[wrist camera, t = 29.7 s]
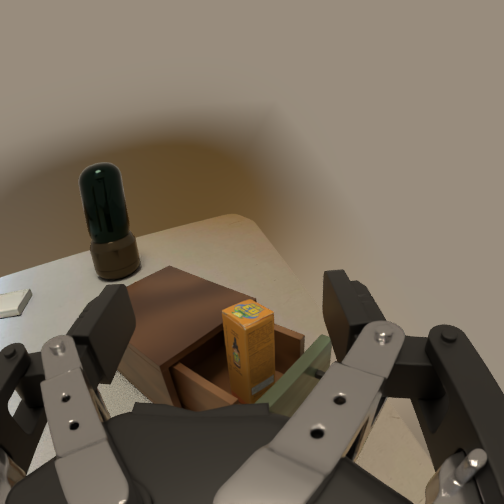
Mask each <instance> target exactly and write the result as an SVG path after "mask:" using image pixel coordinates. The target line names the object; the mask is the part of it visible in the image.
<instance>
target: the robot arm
mask: <svg viewBox="0 0 504 504" xmlns="http://www.w3.org/2000/svg"><path fill="white" fill-rule="evenodd" d="M323 317H324V321H325V324H326V327H327V330H328V334H329V337H330V340H331V343H332V346H333V349H334V352H335V355H336V359H337V361H335V362H333V363H332V364H331V366H330V367H329V368H328V370H327V371H326V373H325V374H324V375H323V377H322V378H321V379H320V381H319V382H318V383H317V385H316V386H315V387H314V389H313V390H312V391H311V393H310V394H309V395H308V397H307V398H306V399H305V401H304V402H303V403H302V404H301V406H300V407H299V408H298V409H297V411H296V412H295V413H294V414H293V416H292V417H288V416H285V415H281V414H277V413H271V412H269V403H254V404H233V405H229V406H224V407H220V408H215V409H210V410H205V411H199V412H197V411H191V410H187V409H183V408H179V407H175V406H171V405H167V404H154V403H138V402H135V404H134V407H133V410H132V412H128V413H123V414H120V415H117V416H115V417H112V418H111V417H110V414H109V412H108V410H107V408H106V406H105V403H104V401H103V399H102V396H101V394H100V392H99V390H98V388H97V387H98V384H99V383H100V384H111V382H112V380H113V378H114V375H115V373H116V371H117V368H118V366H119V364H120V362H121V359H122V357H123V355H124V353H125V350H126V348H127V346H128V344H129V342H130V339H131V337H132V335H133V333H134V331H135V328H136V318H135V314H134V310H133V307H132V304H131V300H130V297H129V294H128V290H127V288H126V286H125V285H124V284H114V285H106V287H105V288H104V289H103V291H102V292H101V293H100V295H99V296H98V297H96V298H95V299H93V300H92V301H91V302H89V303H88V304H87V306H86V307H85V308H84V310H83V312H82V313H81V314H80V315H79V318H77V320H76V321H75V322H74V324H73V325H72V327H71V328H70V330H69V331H68V332H67V334H66V335H60V336H56V337H53V338H52V339H50V340H48V341H47V342H46V343H45V344H44V345H43V347H42V349H41V352H36V353H30V354H28V352H27V350H26V348H25V347H24V345H23V344H21V343H14V344H11V345H8V346H7V347H5V348H4V349H2V350H1V352H0V504H413V503H412V502H411V501H410V500H408V499H407V498H405V497H404V496H402V495H401V494H399V493H398V492H396V491H395V490H393V489H392V488H390V487H389V486H387V485H386V484H384V483H383V482H381V481H380V480H378V479H377V478H375V477H374V476H373V475H371V474H370V473H368V472H367V471H366V470H364V469H363V468H361V467H360V466H359V465H357V464H356V463H355V461H356V460H357V458H358V456H359V454H360V452H361V450H362V448H363V446H364V444H365V442H366V440H367V438H368V436H369V434H370V432H371V430H372V428H373V426H374V424H375V422H376V420H377V418H378V416H379V414H380V412H381V410H382V408H383V406H384V404H385V402H386V400H387V398H388V397H393V398H410V399H411V402H412V404H413V407H414V410H415V413H416V415H417V418H418V421H419V424H420V427H421V429H422V432H423V435H424V438H425V441H426V444H427V447H428V450H429V453H430V456H431V460H432V463H433V466H434V469H435V472H436V473H435V474H434V475H433V476H432V478H431V479H430V480H429V482H428V484H427V486H426V489H425V497H426V501H425V504H504V394H503V392H502V391H501V389H500V387H499V386H498V384H497V382H496V381H495V379H494V378H493V376H492V374H491V372H490V371H489V369H488V368H487V366H486V365H485V363H484V362H483V360H482V358H481V357H480V355H479V354H478V352H477V351H476V349H475V348H474V346H473V345H472V343H471V342H470V341H469V339H468V338H467V336H466V335H465V333H464V332H463V331H462V330H460V329H459V328H457V327H454V326H451V325H438V326H435V327H433V328H432V329H431V330H430V332H429V335H428V337H411V336H406V335H405V333H404V331H403V329H402V328H401V327H400V326H398V325H396V324H394V323H392V322H389V321H386V319H385V317H384V316H383V314H382V312H381V311H380V309H379V307H378V305H377V304H376V302H375V301H374V299H373V297H372V296H371V294H370V292H369V291H368V289H367V287H366V286H365V285H363V284H361V283H360V282H359V281H350V280H349V278H348V277H347V275H346V273H345V271H344V270H331V271H325V272H324V280H323ZM14 390H16V391H17V393H18V394H19V396H20V397H21V399H22V400H21V402H20V404H19V406H18V408H17V410H16V412H15V414H14V416H13V417H12V416H11V415H10V413H9V411H8V401H9V399H10V397H11V396H12V394H13V392H14ZM47 421H48V425H49V429H50V433H51V437H52V441H53V445H54V449H55V452H56V456H55V457H54V458H52V459H51V460H49V461H48V462H46V463H45V464H44V465H42V466H41V467H39V468H38V469H36V470H35V471H33V472H32V473H30V474H29V475H27V472H28V469H29V466H30V464H31V461H32V458H33V456H34V453H35V450H36V448H37V445H38V443H39V440H40V438H41V435H42V433H43V430H44V428H45V426H46V423H47ZM26 475H27V476H26Z"/></svg>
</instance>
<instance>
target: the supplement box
mask: <svg viewBox="0 0 504 504" xmlns="http://www.w3.org/2000/svg"><path fill="white" fill-rule="evenodd" d="M222 318H223V327H224V336H225V345H226V354H227V363H228V371H229V379H230V386H231V394H232V395H233V396H234V397H236V398H238V401H239V402H240V403H241V404H254V403H255V402H256V401H257V400H258V399H259V398H260V397H261V396H262V395H263V394H265V393H266V392H267V391H268V390H269V389H270V388H271V387H272V386H273V385H274V384H275V341H274V312H273V311H271V310H269V309H267V308H266V307H264V306H262V305H260V304H258V303H257V302H255V301H253V300H251V299H248V300H245V301H242V302H240V303H237V304H235V305H233V306H230V307H228V308H226V309H224V310H222Z"/></svg>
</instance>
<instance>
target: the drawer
mask: <svg viewBox="0 0 504 504" xmlns="http://www.w3.org/2000/svg"><path fill="white" fill-rule="evenodd" d="M274 341H275V384H274V385H273V386H272V387H271V388H270V389H269V390H268V391H267V392H266V393H265V394H263V395H262V396H261V397H260V398H259V399H258V400H257V401H256V402H255V403H269V412H271V413H277V414H281V415H285V416H288V417H292V416H293V414H294V413H295V412H296V411H297V409H298V408H299V407H300V406H301V404H302V403H303V402H304V401H305V399H306V398H307V397H308V395H309V394H310V393H311V391H312V390H313V389H314V387H315V386H316V385H317V383H318V382H319V381H320V379H321V378H322V377H323V375H324V374H325V373H326V371H327V370H328V368H329V366H330V357H331V348H332V343H331V340H330V337H328V336H325V335H320V336H319V337H318V339H317V340H316V341H315V342H314V343H313V344H312V345H311V346H310V347H309V348H308V349H307V350H306V352H305V353H304V341H305V335H303V334H300V333H297V332H295V331H292V330H290V329H287V328H284V327H282V326H279V325H277V324H274ZM168 369H169V372H170V375H171V378H172V381H173V384H174V387H175V390H176V392H177V395H178V398H179V401H180V404H181V407H183V408H184V409H187V410H191V411H197V412H199V411H205V410H210V409H215V408H220V407H224V406H229V405H233V404H241V403H240V402H239V401H238V398H236V397H234V396H233V395H232V394H231V386H230V379H229V371H228V363H227V354H226V345H225V336H224V329H223V330H222V331H220V332H219V333H217V334H216V335H215V336H213V337H212V338H210V339H209V340H208V341H206V342H205V343H203V344H202V345H200V346H199V347H198V348H196V349H195V350H193V351H192V352H191V353H189V354H188V355H186V356H185V357H183V358H182V359H180V360H179V361H178V362H176V363H175V364H173V365H172V366H170V367H169V368H168Z"/></svg>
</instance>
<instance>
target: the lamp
mask: <svg viewBox="0 0 504 504" xmlns="http://www.w3.org/2000/svg"><path fill="white" fill-rule="evenodd" d="M79 189H80V194H81V200H82V204H83V210H84V214H85V219H86V223H87V228H88V232H89V235H90V237H91V239H92V241H91V245H90V252H91V256H92V259H93V263H94V267H95V270H96V273H97V274H98V275H99V276H100V277H102V278H104V279H110V280H112V279H119V278H123V277H126V276H128V275H130V274H132V273H133V272H134V271H136V269H137V268H138V267H139V264H140V257H139V253H138V248H137V243H136V238H135V236H134V235H133V234H132V232H131V231H130V230H129V217H128V212H127V207H126V201H125V196H124V189H123V183H122V177H121V172H120V170H119V168H118V167H117V166H115V165H114V164H112V163H106V162H102V163H96V164H93V165H91V166H89V167H87V168H86V169H84V170H83V172H82V173H81V175H80V177H79Z"/></svg>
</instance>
